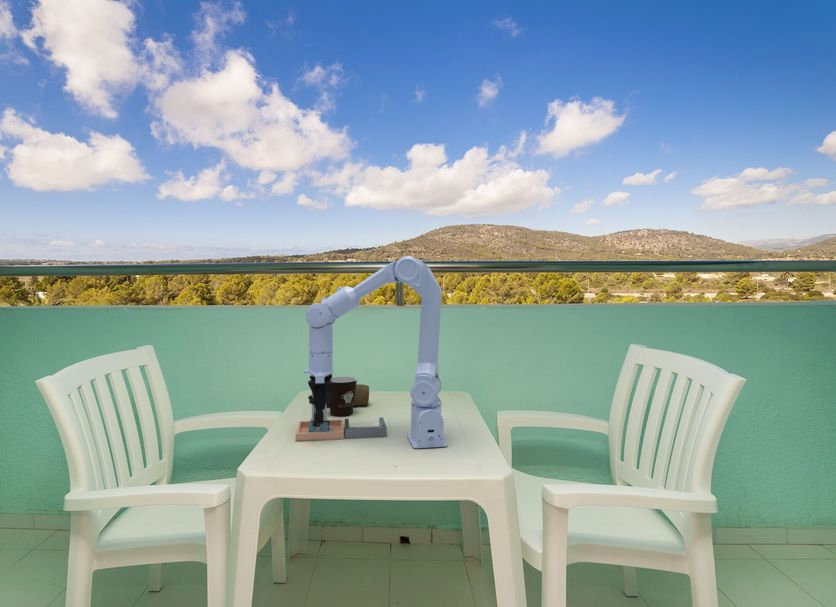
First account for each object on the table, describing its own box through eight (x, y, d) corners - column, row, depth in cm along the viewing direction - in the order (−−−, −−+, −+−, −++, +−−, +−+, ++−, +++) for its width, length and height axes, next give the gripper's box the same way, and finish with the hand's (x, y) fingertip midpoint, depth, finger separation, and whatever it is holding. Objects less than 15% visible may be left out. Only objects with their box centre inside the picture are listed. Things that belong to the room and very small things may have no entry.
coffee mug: (354, 409, 135) (354, 376, 134) (358, 416, 126) (358, 381, 126) (315, 411, 132) (315, 377, 131) (316, 419, 123) (316, 383, 123)
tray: (343, 439, 107) (343, 431, 107) (295, 441, 105) (295, 433, 105) (342, 426, 117) (342, 419, 117) (298, 428, 115) (298, 421, 115)
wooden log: (368, 402, 143) (368, 381, 143) (370, 408, 136) (370, 386, 136) (320, 403, 141) (321, 382, 140) (319, 409, 134) (320, 387, 134)
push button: (337, 429, 114) (337, 390, 114) (332, 436, 109) (333, 395, 108) (311, 428, 114) (311, 389, 114) (305, 435, 109) (305, 394, 108)
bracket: (386, 436, 110) (386, 427, 109) (345, 438, 108) (345, 428, 108) (382, 426, 118) (382, 417, 118) (344, 428, 116) (344, 418, 116)
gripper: (306, 348, 117) (305, 399, 118) (302, 356, 103) (301, 414, 103) (333, 347, 119) (333, 398, 119) (333, 356, 104) (332, 413, 105)
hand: (320, 406), depth 111 cm, fingers closed on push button, 5 cm apart
